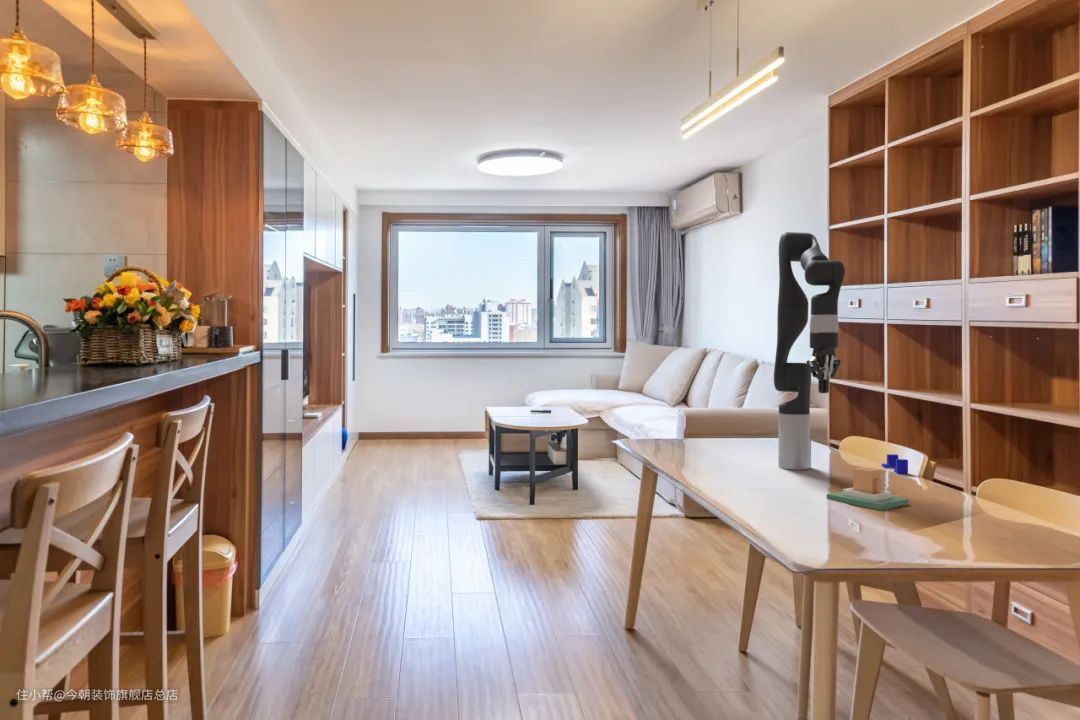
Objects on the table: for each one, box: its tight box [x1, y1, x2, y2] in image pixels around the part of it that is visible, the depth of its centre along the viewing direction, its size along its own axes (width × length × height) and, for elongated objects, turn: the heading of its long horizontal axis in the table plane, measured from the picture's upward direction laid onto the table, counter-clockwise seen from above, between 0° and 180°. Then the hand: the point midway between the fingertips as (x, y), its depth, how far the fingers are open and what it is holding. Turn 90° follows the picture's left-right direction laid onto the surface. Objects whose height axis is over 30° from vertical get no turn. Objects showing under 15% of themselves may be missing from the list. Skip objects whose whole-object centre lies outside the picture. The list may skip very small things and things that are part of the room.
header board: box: [826, 487, 909, 511], centre depth 183 cm, size 12×15×3 cm
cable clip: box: [881, 453, 909, 475], centre depth 224 cm, size 12×4×6 cm, turn 168°
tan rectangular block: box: [852, 466, 882, 494], centre depth 183 cm, size 4×6×7 cm
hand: (823, 392), depth 202 cm, fingers closed
